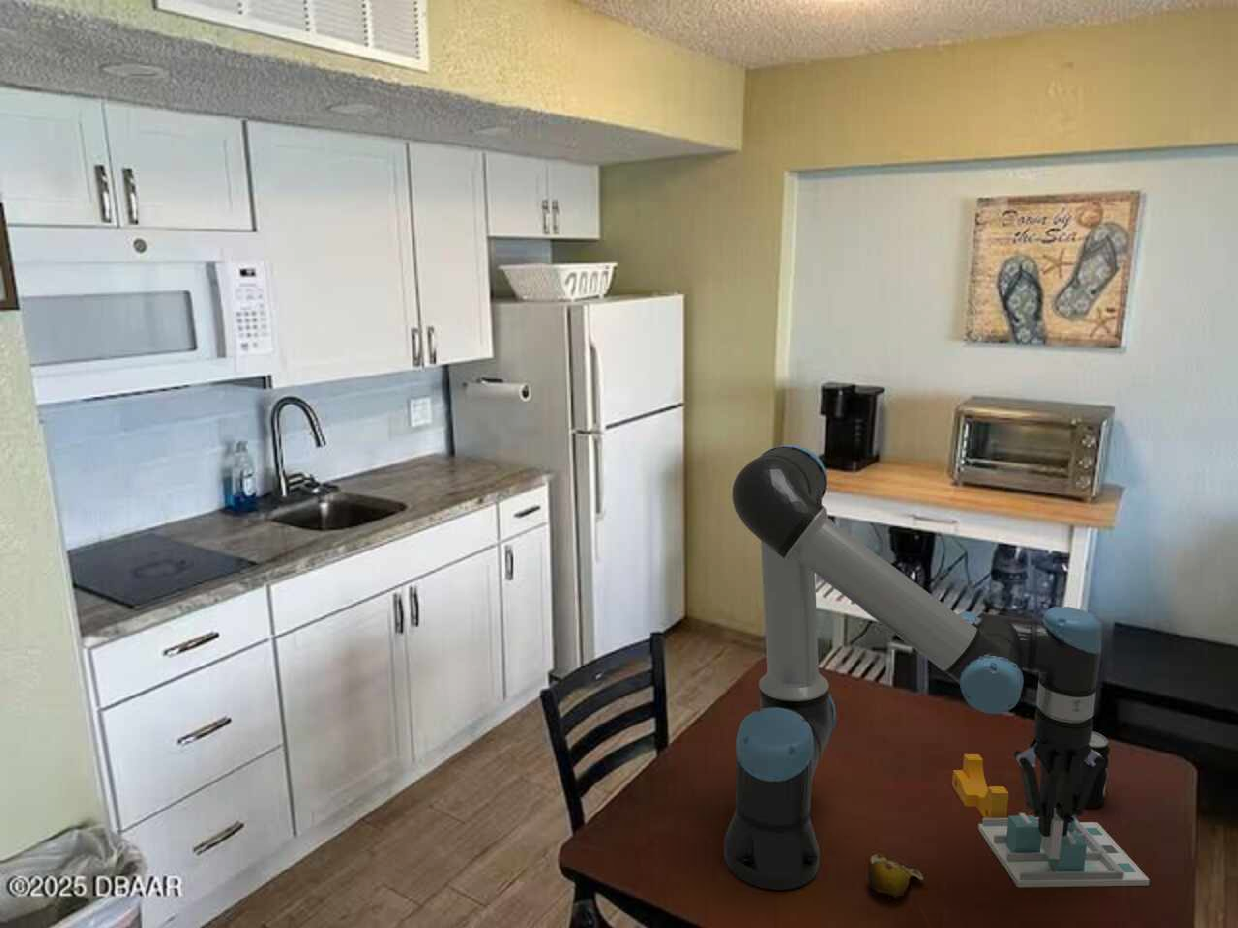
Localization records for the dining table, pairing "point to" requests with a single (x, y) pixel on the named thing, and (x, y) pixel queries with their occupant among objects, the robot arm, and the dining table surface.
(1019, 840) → the tab mid
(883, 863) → the fruit
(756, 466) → the robot arm
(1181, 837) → the dining table surface
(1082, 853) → the tab near
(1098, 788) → the beverage can
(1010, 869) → the switch board
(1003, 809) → the pipe clamp
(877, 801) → the dining table surface
